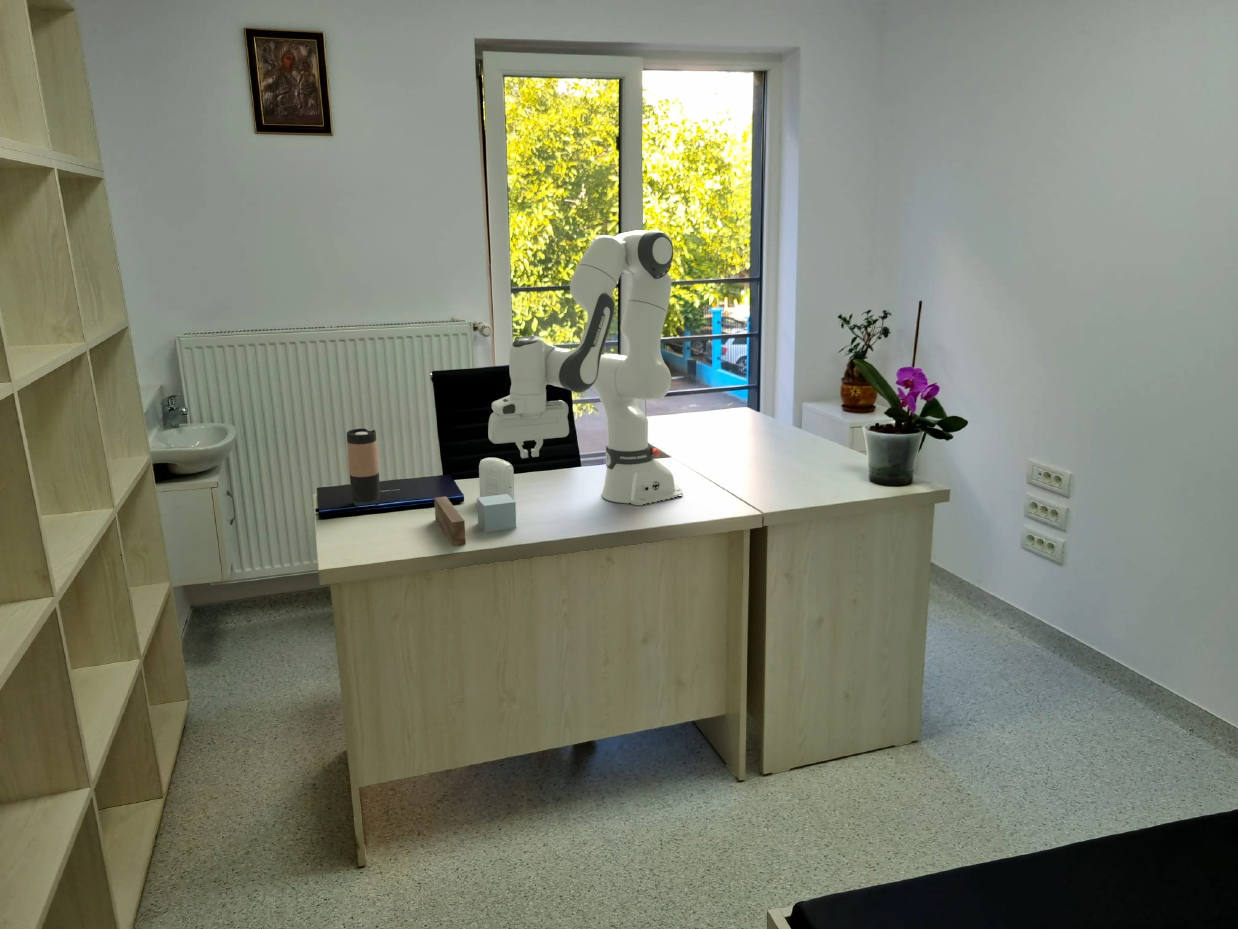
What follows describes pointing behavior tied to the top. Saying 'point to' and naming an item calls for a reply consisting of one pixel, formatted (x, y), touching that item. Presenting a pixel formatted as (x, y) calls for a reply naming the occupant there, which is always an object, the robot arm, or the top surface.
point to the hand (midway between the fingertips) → (529, 456)
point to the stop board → (450, 521)
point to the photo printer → (496, 477)
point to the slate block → (496, 512)
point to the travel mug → (363, 465)
